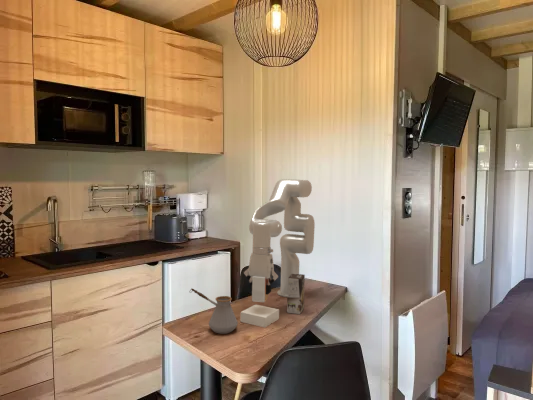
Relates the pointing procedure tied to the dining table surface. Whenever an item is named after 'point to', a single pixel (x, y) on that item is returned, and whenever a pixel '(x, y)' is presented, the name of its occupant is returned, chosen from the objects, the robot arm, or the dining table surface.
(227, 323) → the coffee pot
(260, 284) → the small box
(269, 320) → the cream white block
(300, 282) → the coffee box
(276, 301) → the dining table surface
